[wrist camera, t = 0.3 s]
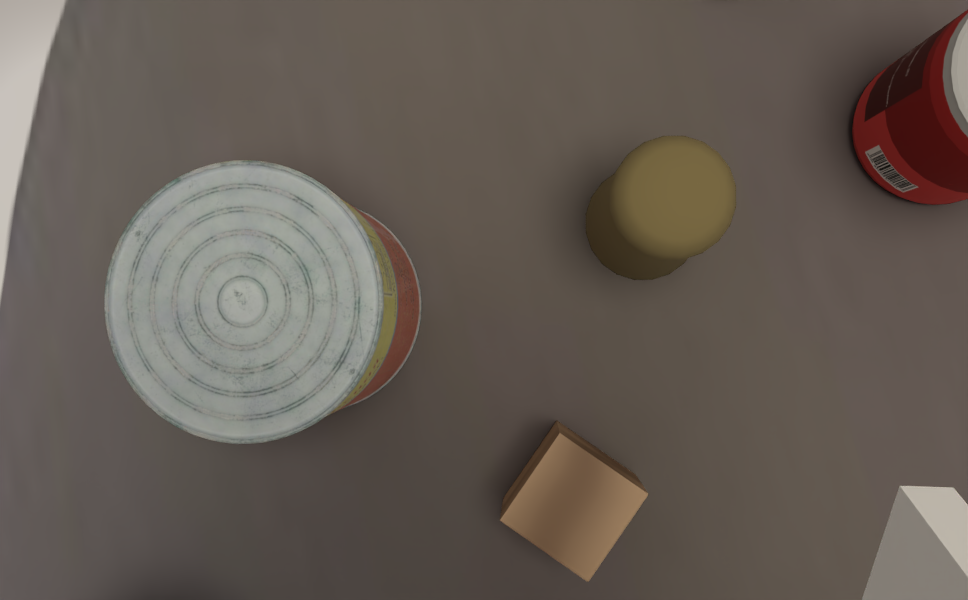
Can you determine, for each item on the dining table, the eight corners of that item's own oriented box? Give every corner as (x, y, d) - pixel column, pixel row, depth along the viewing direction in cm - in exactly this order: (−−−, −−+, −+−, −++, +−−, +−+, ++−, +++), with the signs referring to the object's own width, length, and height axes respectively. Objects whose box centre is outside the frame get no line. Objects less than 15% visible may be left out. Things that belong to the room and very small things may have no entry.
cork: (720, 197, 45) (782, 158, 34) (668, 300, 45) (713, 294, 34) (617, 146, 45) (645, 91, 34) (565, 248, 45) (577, 226, 34)
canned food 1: (186, 370, 46) (65, 388, 34) (254, 173, 46) (157, 122, 34) (381, 440, 45) (328, 484, 33) (450, 240, 45) (421, 212, 33)
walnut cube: (635, 474, 45) (648, 494, 40) (581, 552, 45) (587, 582, 40) (556, 420, 45) (559, 432, 40) (503, 497, 45) (499, 520, 40)
